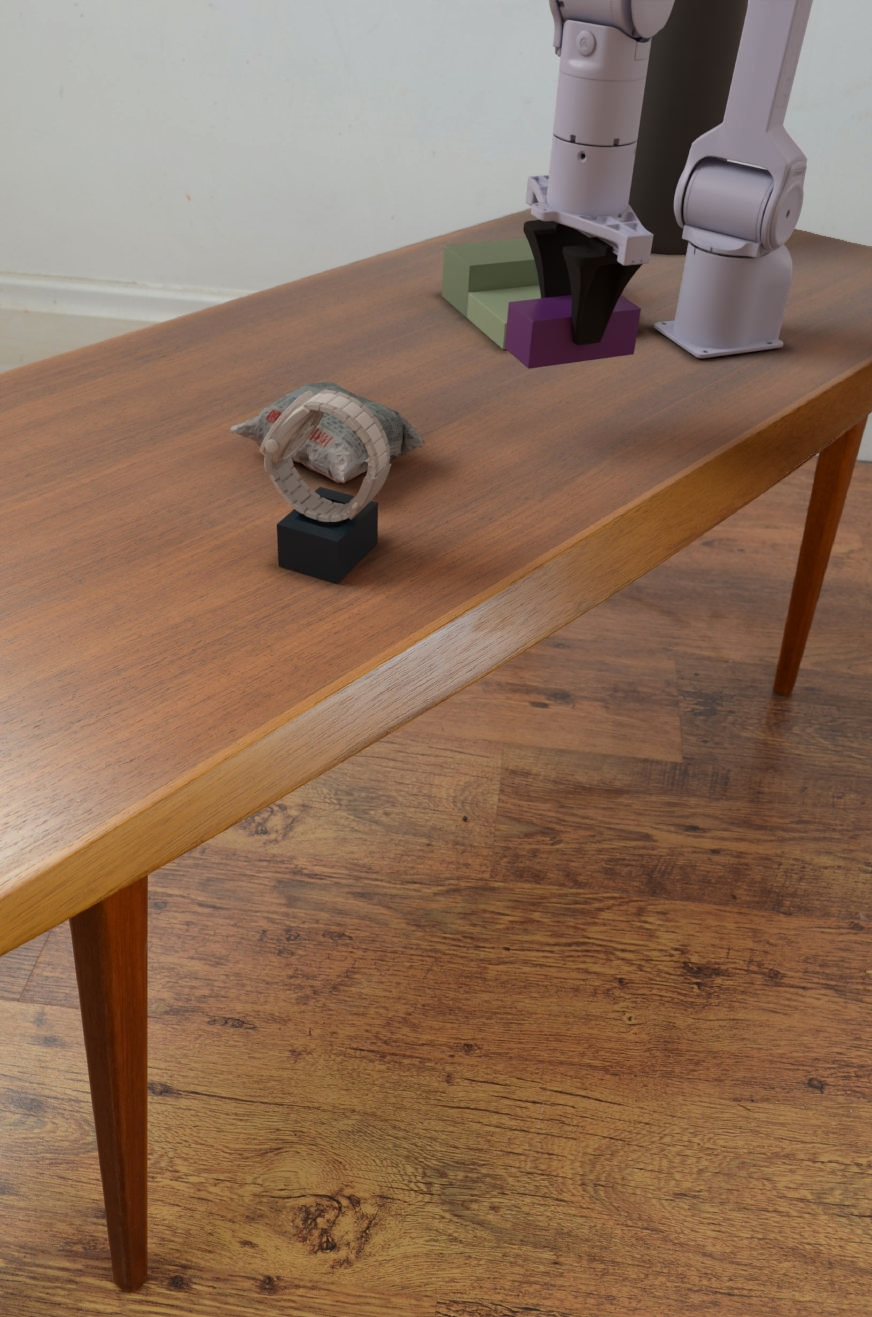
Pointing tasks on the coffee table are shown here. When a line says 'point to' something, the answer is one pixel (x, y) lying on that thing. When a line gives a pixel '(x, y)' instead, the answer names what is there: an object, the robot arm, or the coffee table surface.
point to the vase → (681, 106)
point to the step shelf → (489, 281)
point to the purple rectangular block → (565, 332)
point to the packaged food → (335, 435)
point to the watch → (325, 489)
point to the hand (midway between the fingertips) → (571, 330)
